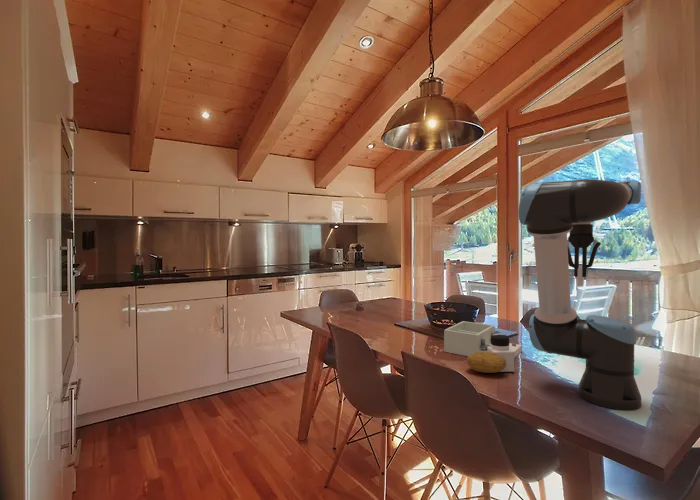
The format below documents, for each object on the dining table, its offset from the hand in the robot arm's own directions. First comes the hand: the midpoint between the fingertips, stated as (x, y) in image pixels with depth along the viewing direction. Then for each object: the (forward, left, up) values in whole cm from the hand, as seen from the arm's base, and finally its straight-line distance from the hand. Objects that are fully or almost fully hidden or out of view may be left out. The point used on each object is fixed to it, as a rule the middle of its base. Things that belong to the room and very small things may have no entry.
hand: (580, 285), depth 145 cm
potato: (-37, +23, -29) cm, 52 cm away
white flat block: (-12, +25, -29) cm, 40 cm away
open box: (-13, +36, -28) cm, 48 cm away
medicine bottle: (-30, +20, -28) cm, 46 cm away
